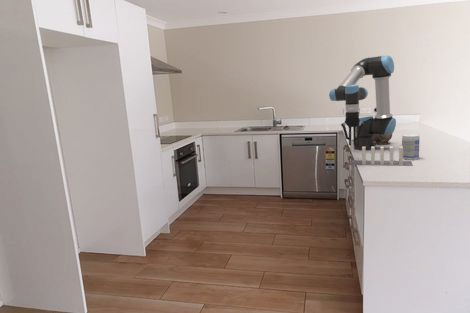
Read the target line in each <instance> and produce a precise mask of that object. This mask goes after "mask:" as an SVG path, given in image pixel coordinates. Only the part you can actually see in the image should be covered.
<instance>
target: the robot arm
mask: <svg viewBox="0 0 470 313" xmlns="http://www.w3.org/2000/svg"><path fill="white" fill-rule="evenodd" d="M394 63H395V62H394V59H393V58H392V57H391V56H390V55H378V56H371V57H365V58H362V59H361V60H359V61H358V62H357V63H355V64H354V65H353V66H352V67H351V69H350V73H348V74H347V76H346V77H345V78H344V79H343V81H342V82H341V83H340V84H339V85H338V87H337V88H332V89H331V90H330V91H329V95H328V96H329V99H330V101H331V102H343V101H345V105H344V106H345V119H344V122H342V123H341V124H340V125H341V127H342V130H343V133H344V137H345V140H347V141H348V145H349V146H350V151H351V152H354V151H355V150H360V151H362V147H366V151H369V150H370V151H371V147H372V146H375V147H376V143H375V141H374V139H373V134H375V135H391V134H392V135H393V133H394V131H395V129H396V126H397V125H396V124H397V120H396V118H395V117H394V116H393V114H392V113H391V108H390V107H391V105H390V102H391V101H390V81H389V80H390V77H391V76H392V74H393V73H394V71H395V64H394ZM364 76H372V79H374V86H375V87H374V88H375V108H376V111H377V112H376V114H375V115H374V116H373V115H371V116H361V117H360V112H359V111H360V101H363V100H365V99H366V98H367V97H368V94H369V92H368V89H367V88H365V87H362V86H360V87H359V84H357V83H358V82H359V80H361V79H362V78H363V77H364ZM346 126H347V127H348V132H347V128H346ZM352 130H353V131H352ZM352 133H353V135H352ZM352 136H353V139H352Z"/></svg>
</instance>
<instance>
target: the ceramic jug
mask: <svg viewBox="0 0 470 313" xmlns="http://www.w3.org/2000/svg"><path fill="white" fill-rule="evenodd" d="M373 111H374V112H375V113H377V111H376V107H375V108H374V110H373ZM392 137H393V133H392V134H391V135H375V134H373V139H374V142H375V145H387V144H389V142H390V141H391V139H392Z"/></svg>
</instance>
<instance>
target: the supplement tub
mask: <svg viewBox="0 0 470 313" xmlns="http://www.w3.org/2000/svg"><path fill="white" fill-rule="evenodd" d="M401 146H403V160H405V161H416V160H419V159H420V134H412V133H411V134H410V133H409V134H402V136H401Z"/></svg>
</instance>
